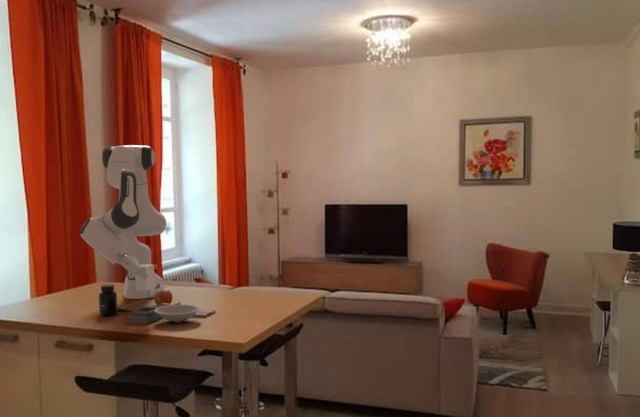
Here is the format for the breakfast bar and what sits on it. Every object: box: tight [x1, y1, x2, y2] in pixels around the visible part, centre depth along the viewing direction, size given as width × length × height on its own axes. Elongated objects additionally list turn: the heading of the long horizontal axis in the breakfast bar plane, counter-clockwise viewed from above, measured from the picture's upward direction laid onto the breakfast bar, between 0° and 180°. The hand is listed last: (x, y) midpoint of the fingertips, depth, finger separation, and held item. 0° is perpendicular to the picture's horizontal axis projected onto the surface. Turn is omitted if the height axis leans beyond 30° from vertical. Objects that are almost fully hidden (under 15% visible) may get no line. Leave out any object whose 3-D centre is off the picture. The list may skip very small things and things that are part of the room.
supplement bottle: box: [98, 284, 118, 318], centre depth 219 cm, size 7×7×12 cm
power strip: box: [127, 303, 171, 325], centre depth 217 cm, size 26×8×4 cm, turn 162°
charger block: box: [135, 264, 155, 290], centre depth 209 cm, size 5×5×9 cm
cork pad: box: [191, 308, 216, 319], centre depth 216 cm, size 8×8×1 cm
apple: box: [153, 289, 173, 306], centre depth 229 cm, size 7×7×8 cm
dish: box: [154, 304, 201, 324], centre depth 205 cm, size 18×14×5 cm
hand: (146, 275), depth 209 cm, fingers closed on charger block, 7 cm apart
